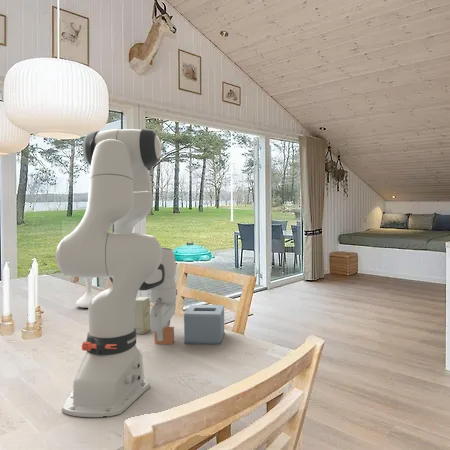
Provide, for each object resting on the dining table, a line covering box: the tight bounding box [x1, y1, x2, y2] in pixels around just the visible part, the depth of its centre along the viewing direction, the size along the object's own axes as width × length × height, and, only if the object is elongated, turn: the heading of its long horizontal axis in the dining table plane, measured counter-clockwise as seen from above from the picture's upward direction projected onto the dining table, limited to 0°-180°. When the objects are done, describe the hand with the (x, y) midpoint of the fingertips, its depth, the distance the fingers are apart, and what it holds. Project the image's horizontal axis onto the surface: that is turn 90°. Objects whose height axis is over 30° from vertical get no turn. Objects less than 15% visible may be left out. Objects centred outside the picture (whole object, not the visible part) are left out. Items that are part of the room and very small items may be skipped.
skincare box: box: [134, 296, 151, 335], centre depth 148 cm, size 6×4×12 cm
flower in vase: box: [75, 277, 96, 309], centre depth 184 cm, size 13×11×25 cm
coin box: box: [183, 304, 225, 346], centre depth 139 cm, size 12×12×10 cm
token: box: [153, 326, 175, 345], centre depth 136 cm, size 2×6×5 cm, turn 84°
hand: (163, 336), depth 136 cm, fingers open, 7 cm apart
